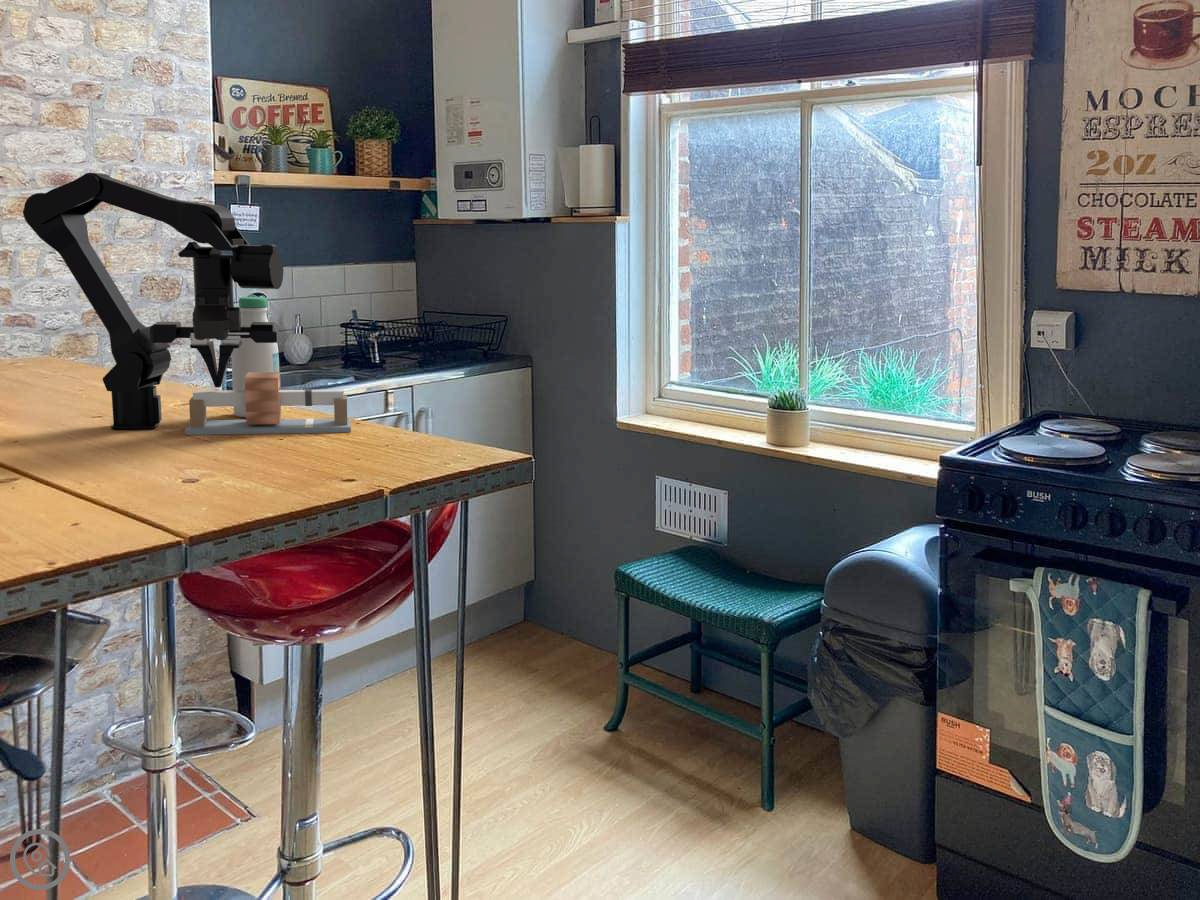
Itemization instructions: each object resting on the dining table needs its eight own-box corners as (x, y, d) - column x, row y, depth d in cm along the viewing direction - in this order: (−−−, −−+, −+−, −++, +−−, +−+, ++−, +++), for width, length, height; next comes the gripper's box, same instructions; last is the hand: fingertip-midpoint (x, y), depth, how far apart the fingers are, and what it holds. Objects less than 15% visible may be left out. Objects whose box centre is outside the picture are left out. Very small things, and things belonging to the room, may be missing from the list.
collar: (246, 424, 179) (244, 377, 178) (249, 417, 185) (247, 372, 183) (279, 424, 180) (277, 377, 179) (281, 417, 186) (279, 372, 184)
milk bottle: (267, 420, 190) (263, 299, 186) (225, 417, 192) (219, 297, 188) (288, 412, 198) (285, 296, 194) (247, 410, 199) (243, 294, 195)
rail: (185, 434, 177) (183, 395, 175) (192, 425, 184) (190, 387, 183) (350, 432, 182) (349, 393, 181) (350, 423, 190) (349, 386, 188)
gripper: (140, 290, 167) (146, 395, 170) (273, 291, 171) (276, 394, 174) (153, 285, 178) (158, 384, 181) (277, 286, 182) (280, 383, 185)
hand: (218, 387), depth 180 cm, fingers closed
